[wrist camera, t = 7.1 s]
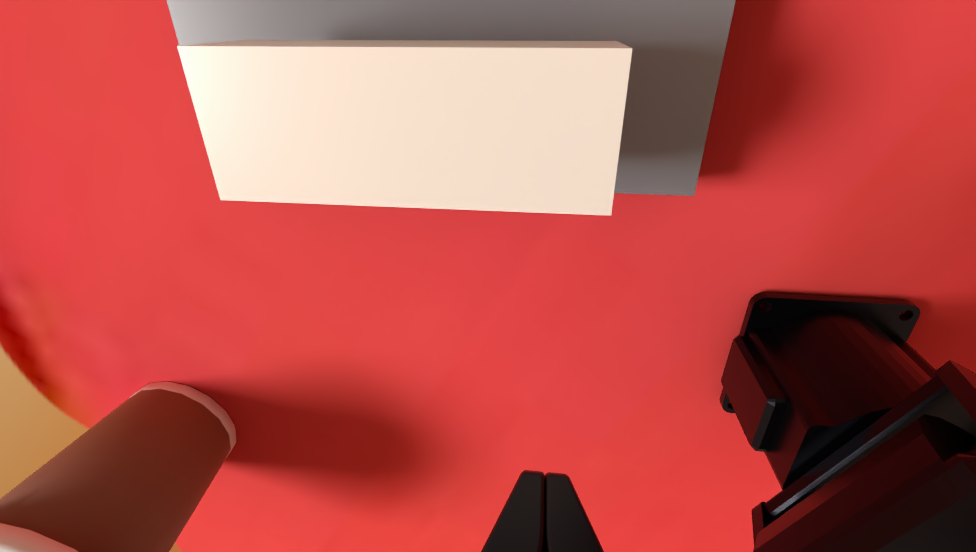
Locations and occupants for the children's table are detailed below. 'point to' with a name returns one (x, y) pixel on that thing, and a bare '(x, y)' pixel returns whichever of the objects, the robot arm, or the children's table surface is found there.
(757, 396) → the robot arm
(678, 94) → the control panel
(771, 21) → the children's table surface
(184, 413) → the coffee cup
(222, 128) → the cream key
